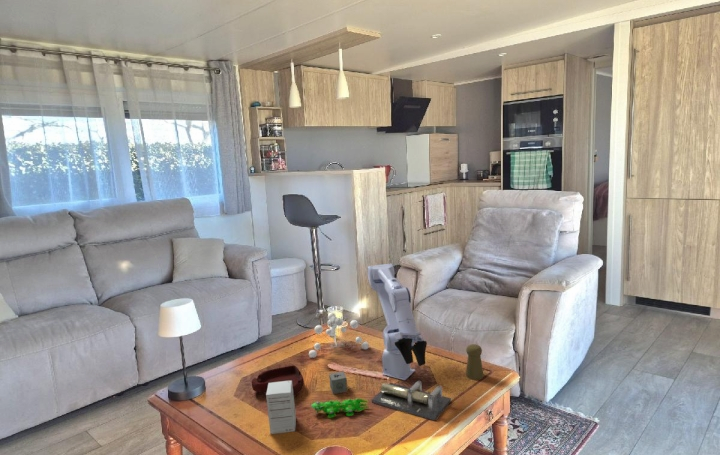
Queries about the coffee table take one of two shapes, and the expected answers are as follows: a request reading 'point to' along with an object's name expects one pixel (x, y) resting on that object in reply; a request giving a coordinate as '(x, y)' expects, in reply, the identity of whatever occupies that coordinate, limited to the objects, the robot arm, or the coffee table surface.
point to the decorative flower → (331, 331)
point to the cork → (474, 362)
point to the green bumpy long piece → (340, 406)
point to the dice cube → (338, 382)
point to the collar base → (416, 408)
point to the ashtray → (279, 379)
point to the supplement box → (281, 407)
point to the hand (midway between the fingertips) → (416, 364)
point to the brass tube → (404, 393)
